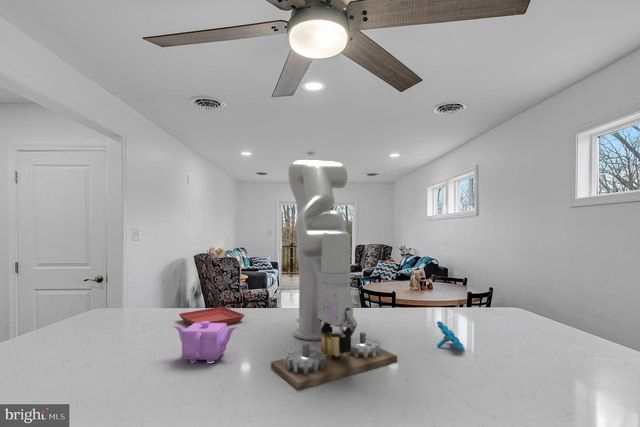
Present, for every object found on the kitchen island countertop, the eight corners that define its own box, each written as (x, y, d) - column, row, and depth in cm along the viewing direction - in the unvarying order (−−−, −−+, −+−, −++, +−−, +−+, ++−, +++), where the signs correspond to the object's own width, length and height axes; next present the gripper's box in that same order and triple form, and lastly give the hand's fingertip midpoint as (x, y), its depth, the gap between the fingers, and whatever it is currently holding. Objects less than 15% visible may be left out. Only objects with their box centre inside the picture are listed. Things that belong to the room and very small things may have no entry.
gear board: (298, 389, 77) (298, 359, 77) (271, 367, 89) (271, 341, 89) (397, 361, 93) (397, 336, 93) (363, 345, 105) (363, 323, 105)
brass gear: (315, 349, 92) (316, 333, 92) (338, 344, 96) (338, 329, 96) (332, 358, 86) (332, 341, 86) (355, 352, 90) (355, 336, 90)
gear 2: (338, 349, 97) (338, 331, 97) (364, 343, 102) (364, 326, 102) (360, 360, 89) (360, 341, 89) (388, 353, 94) (388, 335, 94)
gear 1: (279, 363, 87) (279, 343, 88) (312, 355, 93) (312, 336, 93) (298, 377, 79) (298, 355, 79) (333, 368, 84) (333, 347, 85)
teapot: (244, 349, 102) (245, 315, 102) (231, 367, 89) (231, 328, 89) (183, 348, 102) (184, 314, 103) (161, 366, 89) (162, 327, 90)
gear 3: (465, 351, 96) (438, 321, 100) (449, 364, 97) (422, 334, 101) (467, 344, 106) (442, 317, 110) (452, 356, 107) (428, 329, 111)
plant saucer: (222, 314, 143) (222, 305, 143) (245, 323, 130) (245, 314, 130) (177, 322, 131) (177, 313, 131) (198, 333, 117) (198, 323, 117)
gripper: (306, 275, 97) (306, 340, 96) (344, 284, 82) (344, 361, 82) (328, 273, 101) (328, 335, 100) (368, 282, 86) (368, 354, 86)
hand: (335, 346), depth 91 cm, fingers closed on brass gear, 7 cm apart
